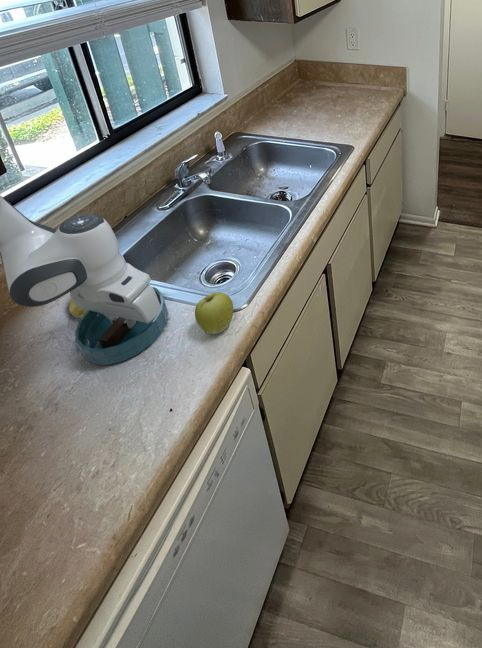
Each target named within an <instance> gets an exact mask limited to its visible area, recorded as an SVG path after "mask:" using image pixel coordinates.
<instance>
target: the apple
mask: <svg viewBox="0 0 482 648" xmlns="http://www.w3.org/2000/svg"><path fill="white" fill-rule="evenodd" d="M233 316H234V302H233V300H232V299H231V297H230V296H229V295H228V294H226V293H224V292H220V291H219V292H218V291H217V292H212V293H210V294H208V295H207V296H205V297H203V298H201V299H200V300H199V301H198V302H197V304H196V306H195V308H194V317H195V321H196V323H197V325H198V327H199V328H200V329H201V330H202V331H203V332H204V333H206V334H209V335H217V334H219V333H222V332H224V331H225V330H226V329H227V328H228V327H229V325H230V324H231V322H232V320H233Z"/></svg>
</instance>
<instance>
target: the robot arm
mask: <svg viewBox="0 0 482 648" xmlns="http://www.w3.org/2000/svg"><path fill="white" fill-rule="evenodd" d="M118 241H119V240H118V239H117V237H116V234H115V232H114V230H113V229H112V226H111V225H110V224H109V222H108V221H107V220H106V219H105V218H104V217H102V216H100V215H98V214H93V213H83V214H79V215H75V216H72V217H69V218H68V219H66V220H64V221H62V222H61V223H60V224H59V225H58V227H57V229H55V228H53V227H51V226H48V225H45V224H42V223H38V222H35V221H33V220H31V219H29V218H28V217H26V216H25V215H24V214H23V213H22V212H21V211H19V209H17V208H16V207H15V206H13V205H12V204H11V203H10V202H9V201H8V200H7V199H5V198H4V197H3V196H2V195H1V194H0V260H1V263H2V265H3V268H4V273H5V278H6V284H7V288H8V293H9V297H10V299H11V301H12V302H13V303H14V304H17V305H19V306H22V307H28V308H33V307H34V308H36V307H43V306H45V305H48V304H50V303H52V302H55V301H56V300H58V299H61V298H62V297H64V296H65V295H67V294H70V298H71V300H73V303H74V304H75V305H76V306H77V307H78V308H81V309H86V310H90V311H95V312H99V313H103V315H105V316H106V317H107V318H108V319H109V320H110V321H111V323H112V324H113V323H114V322H115V321H116V320H117V319H118V318H119V317H121V318H124V319H127V320H125V321H124V322H123V323H124V325H125V327H127V328H132V327H133V326H134V325H135V324H136V321H139V322H144V323H149V322H150V321H151V320H152V319H153V318H154V317H155V316H156V315H157V314H158V312H159V311H160V304H159V301H158V298H157V295H156V293H155V291H154V289H153V288H152V287H153V286H152V285H151V284H150V283H151V280H152V278H151V276H150V274H148V273H147V272H143V271H141V270H140V269H137V268H136V267H134V266H133V265H132V264H130V263H129V262H126V259H125V257H124V256H123V254H122V253H121V252H120V244H119V242H118Z"/></svg>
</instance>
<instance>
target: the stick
mask: <svg viewBox="0 0 482 648" xmlns="http://www.w3.org/2000/svg"><path fill="white" fill-rule="evenodd" d="M125 320H127V319H124V318H121V317H119V318H118V319H117V320H116V321H115V322H114V323H113V324H112V325H111V326H110V327H109V328H108V329H107V330H106V331H105V332H104V333H103V335H102V336H101V337H100V338H99V339H98V340H99V342H100V344H101V346H102V348H103V349H105V348H109V347H113V346H117V345H118V344H119V343H120V342H121V341H122V340H123V338H124V337H125V336H126V335H127V334H128V333H129V332H130V331H131V329H132V328H133V327H134V326H135V325H136V324H137V323H138V322H139V321H136V324H135V325H134V326H133V327H132V328H127V327H125V325H124V323H123V322H124V321H125Z"/></svg>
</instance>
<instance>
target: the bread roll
mask: <svg viewBox="0 0 482 648" xmlns="http://www.w3.org/2000/svg"><path fill="white" fill-rule="evenodd" d="M68 310H69V313H70V314H71V316H72V317H73V318H74V319H80V320H81V318H82V317H83V316H84V315H85V313H86V312H87V311H88V310H86V309H81V308H78V307H77V306H76V305H75V304H74V303H73V300H72V299H71V300H70V302H69V306H68Z"/></svg>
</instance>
